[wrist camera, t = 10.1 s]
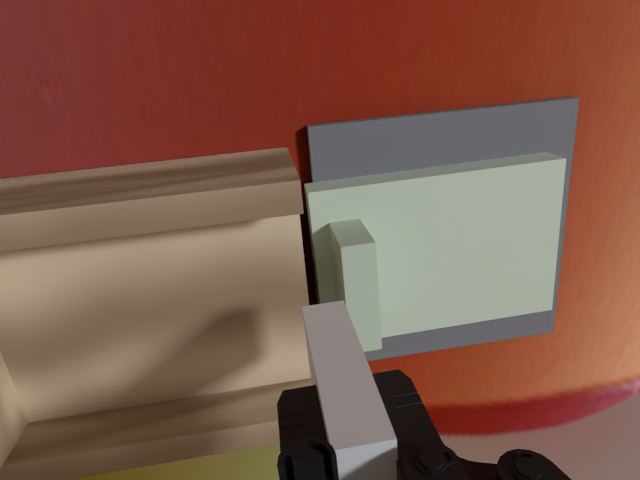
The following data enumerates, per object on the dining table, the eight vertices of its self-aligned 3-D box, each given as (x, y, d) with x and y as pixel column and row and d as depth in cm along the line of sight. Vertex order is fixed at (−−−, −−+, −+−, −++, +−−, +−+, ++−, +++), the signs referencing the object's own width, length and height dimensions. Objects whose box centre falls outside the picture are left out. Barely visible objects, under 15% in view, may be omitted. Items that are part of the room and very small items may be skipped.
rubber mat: (306, 125, 22) (307, 126, 21) (571, 97, 23) (579, 97, 22) (328, 360, 27) (330, 366, 26) (546, 326, 28) (553, 332, 27)
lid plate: (304, 183, 22) (316, 213, 18) (546, 151, 23) (612, 173, 19) (320, 330, 25) (335, 385, 21) (534, 295, 26) (590, 341, 22)
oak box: (-32, 182, 21) (-145, 232, 15) (287, 147, 22) (300, 180, 16) (44, 390, 25) (-20, 494, 19) (309, 349, 26) (326, 435, 20)
